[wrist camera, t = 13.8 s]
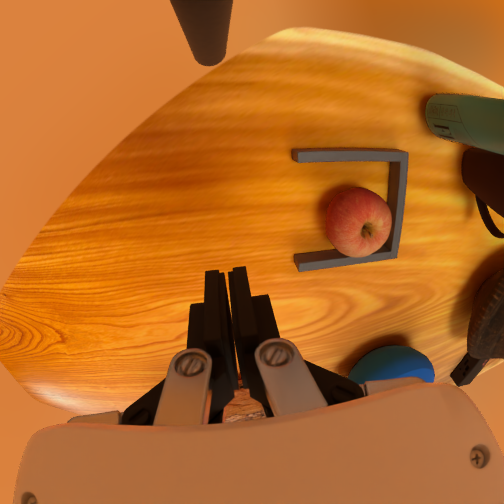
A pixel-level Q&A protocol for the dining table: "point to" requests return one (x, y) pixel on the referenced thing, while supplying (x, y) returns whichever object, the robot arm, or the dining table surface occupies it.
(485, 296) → the ceramic pot
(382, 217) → the apple
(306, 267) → the bay
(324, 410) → the robot arm
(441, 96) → the beverage bottle
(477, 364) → the electronic device
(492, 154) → the mug
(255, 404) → the petrified wood
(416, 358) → the vase
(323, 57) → the dining table surface
